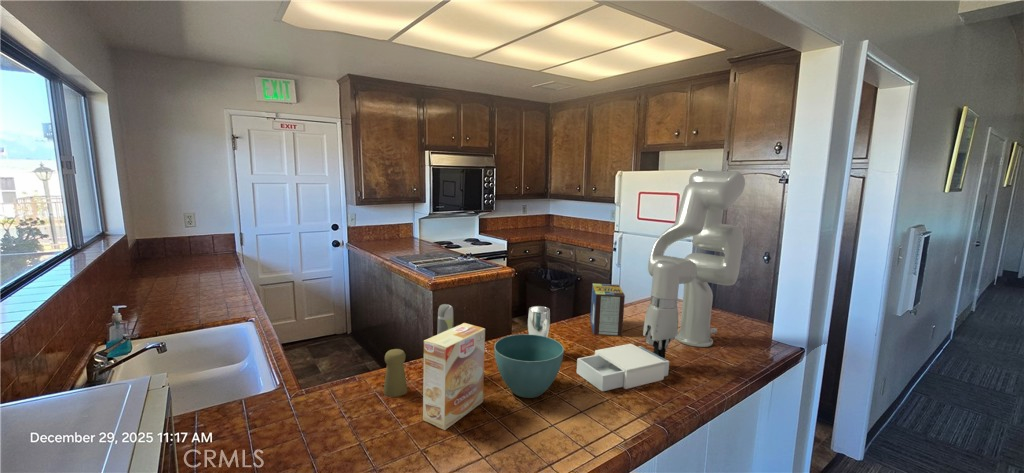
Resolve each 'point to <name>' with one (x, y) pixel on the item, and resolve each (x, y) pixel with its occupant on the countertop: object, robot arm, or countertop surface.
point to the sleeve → (634, 364)
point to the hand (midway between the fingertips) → (658, 360)
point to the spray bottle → (445, 318)
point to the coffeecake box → (453, 374)
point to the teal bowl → (528, 363)
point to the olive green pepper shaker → (395, 373)
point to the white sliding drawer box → (606, 371)
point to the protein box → (607, 309)
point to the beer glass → (539, 320)
